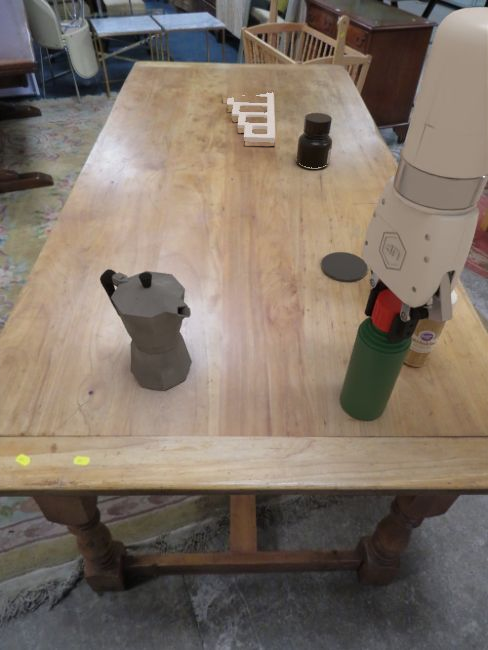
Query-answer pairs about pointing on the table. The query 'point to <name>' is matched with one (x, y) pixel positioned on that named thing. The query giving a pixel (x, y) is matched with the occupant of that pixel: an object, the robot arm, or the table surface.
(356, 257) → the coaster
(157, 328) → the coffeepot
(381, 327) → the cap
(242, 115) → the holder
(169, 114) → the table surface
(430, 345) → the sprinkles bottle
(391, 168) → the table surface
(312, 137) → the ink bottle
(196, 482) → the table surface
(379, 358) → the bottle
